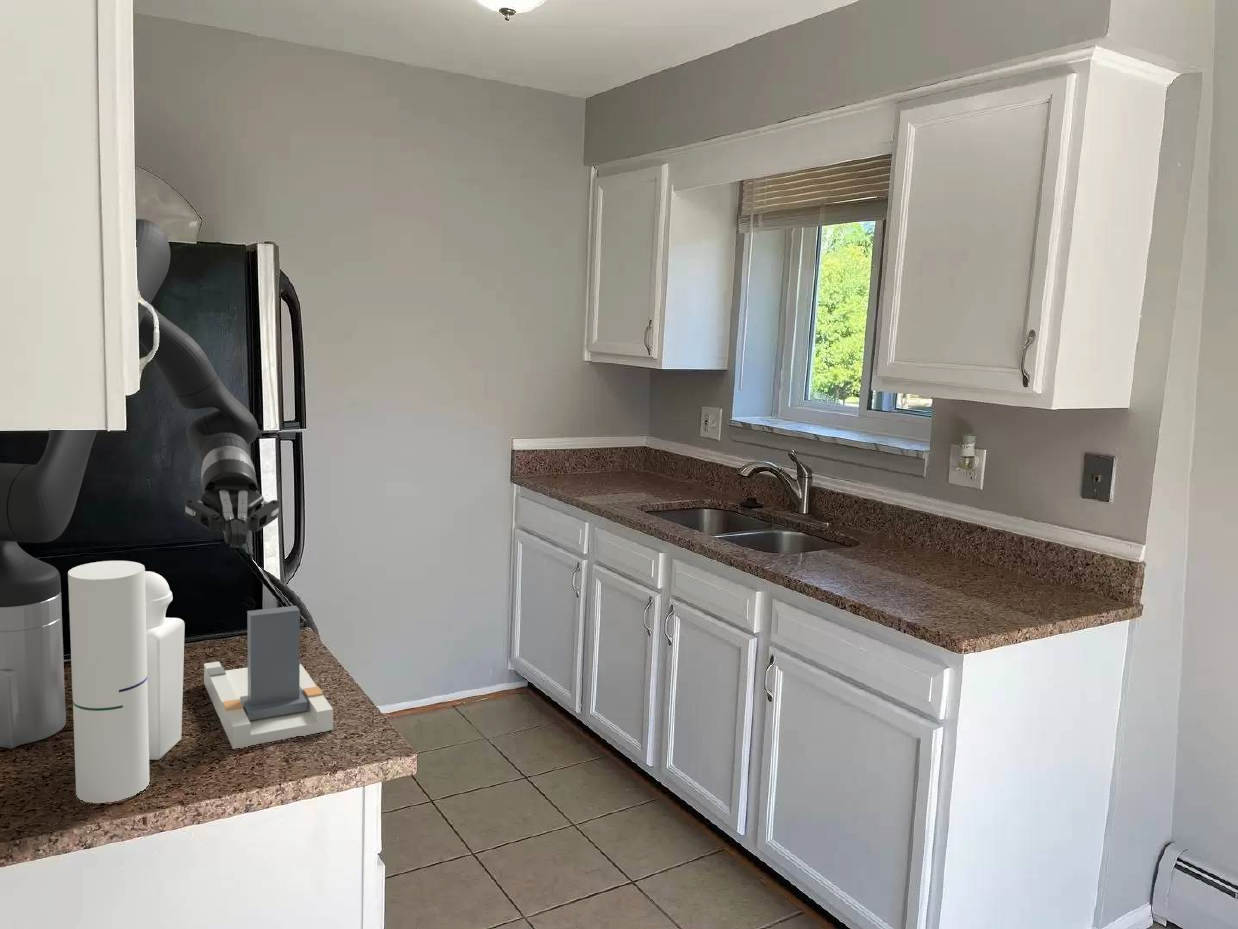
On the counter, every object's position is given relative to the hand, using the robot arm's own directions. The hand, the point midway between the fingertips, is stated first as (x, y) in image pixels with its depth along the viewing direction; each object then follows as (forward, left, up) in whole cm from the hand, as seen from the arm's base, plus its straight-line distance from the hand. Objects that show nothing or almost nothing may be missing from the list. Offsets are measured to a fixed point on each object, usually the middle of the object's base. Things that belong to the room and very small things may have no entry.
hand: (237, 541), depth 125 cm
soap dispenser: (-17, 0, -22) cm, 28 cm away
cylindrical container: (-26, -3, -22) cm, 34 cm away
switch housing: (-2, -6, -22) cm, 23 cm away
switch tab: (-6, -9, -20) cm, 23 cm away
